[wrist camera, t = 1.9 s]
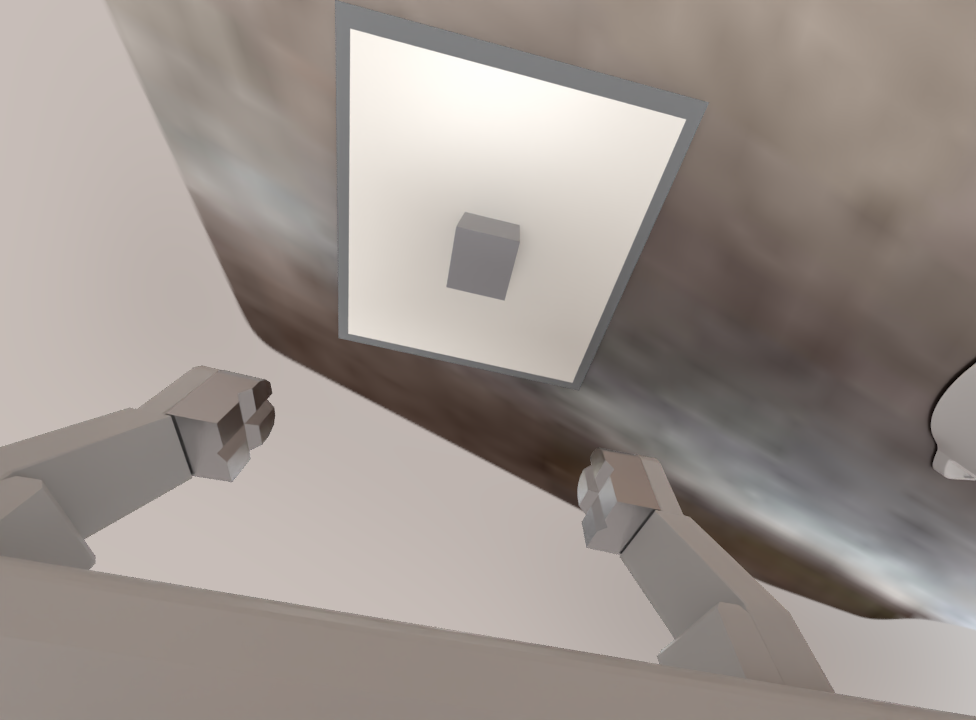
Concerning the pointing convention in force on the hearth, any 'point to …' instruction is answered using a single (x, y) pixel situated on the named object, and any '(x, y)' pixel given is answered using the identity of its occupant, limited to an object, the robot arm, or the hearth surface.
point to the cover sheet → (490, 206)
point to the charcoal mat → (519, 64)
